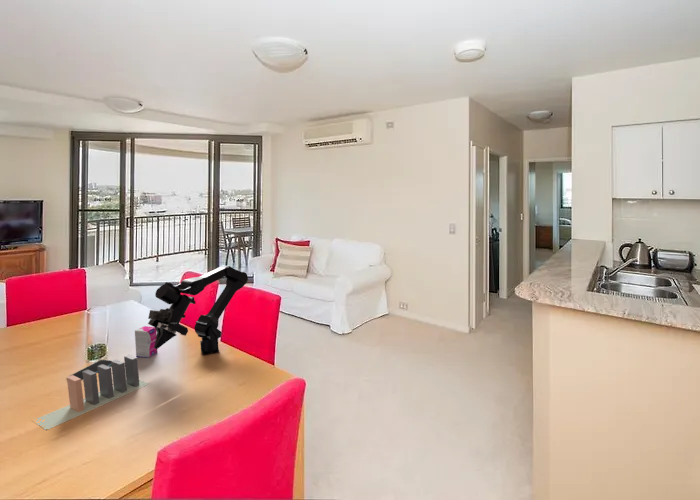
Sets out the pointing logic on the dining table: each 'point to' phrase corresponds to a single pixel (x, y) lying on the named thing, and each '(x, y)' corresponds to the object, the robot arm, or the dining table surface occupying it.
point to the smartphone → (92, 368)
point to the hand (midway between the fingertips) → (155, 348)
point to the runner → (69, 413)
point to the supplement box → (145, 341)
